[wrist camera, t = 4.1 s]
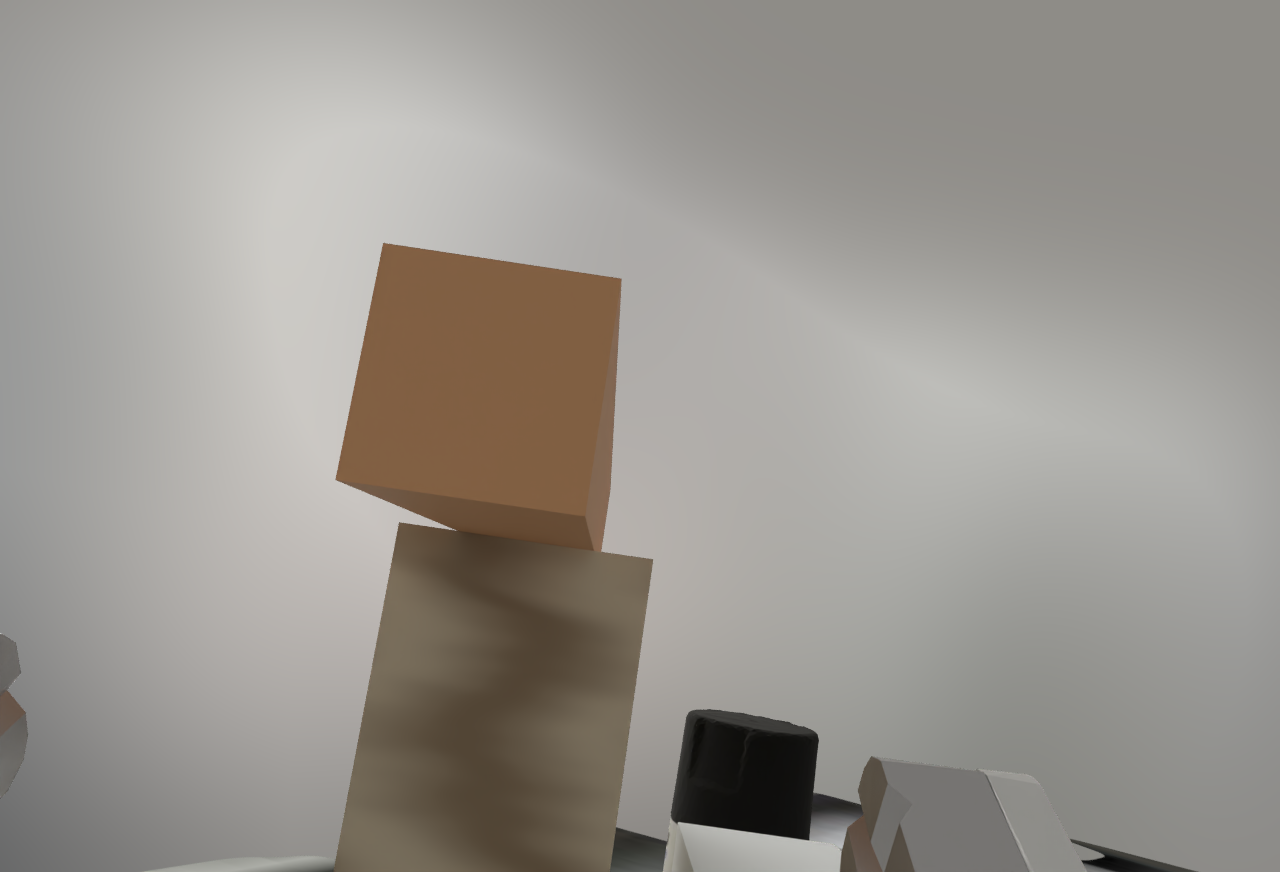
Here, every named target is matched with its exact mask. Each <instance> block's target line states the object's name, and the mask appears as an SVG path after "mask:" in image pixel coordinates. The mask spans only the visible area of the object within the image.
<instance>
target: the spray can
mask: <svg viewBox="0 0 1280 872" xmlns="http://www.w3.org/2000/svg"><path fill="white" fill-rule="evenodd" d="M818 742H819V739H818V735H817V734H816V733H815V732H814V731H813V730H811V729H808V728H806V727H801V726H797V725H793V724H791V723H790V722H785V721H779V720H773V719H770V718H765V717H760V716H752V715H748V714H744V713H734V712H727V711H721V710H711V709H708V710H693V711H690V712H689V713H688V715H687V717H686V723H685V729H684V735H683V742H682V749H681V756H680V761H679V767H678V774H677V780H676V786H675V792H674V798H673V804H672V811H671V820H670V826H669V832H668V841H667V847H666V854H665V862H664V869H663V872H672V865H673V857H674V849H675V841H676V833H677V826H678V822H681V823H688V824H695V825H702V826H709V827H716V828H723V829H730V830H737V831H745V832H752V833H759V834H766V835H773V836H780V837H787V838H794V839H801V840H808V841H809V834H810V824H811V812H812V801H813V789H814V780H815V769H816V759H817V750H818Z"/></svg>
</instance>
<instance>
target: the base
mask: <svg viewBox="0 0 1280 872" xmlns="http://www.w3.org/2000/svg"><path fill="white" fill-rule="evenodd" d="M841 854H842V852H841V851H840V850H839V849H838V848H837V847H836V846H835V844H829V843H822V842H815V841H808V840H801V839H794V838H787V837H780V836H773V835H766V834H759V833H752V832H745V831H737V830H730V829H723V828H716V827H709V826H702V825H695V824H688V823H681V822H678V826H677V833H676V841H675V849H674V857H673V865H672V872H840V862H841Z"/></svg>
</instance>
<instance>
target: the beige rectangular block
mask: <svg viewBox="0 0 1280 872" xmlns="http://www.w3.org/2000/svg"><path fill="white" fill-rule="evenodd" d="M652 564H653V559H646V558H640V557H633V556H625V555H619V554H611V553H605V552H598V551H591V550H585V549H578V548H571V547H564V546H557V545H550V544H544V543H537V542H530V541H523V540H516V539H509V538H502V537H496V536H489V535H482V534H475V533H468V532H461V531H454V530H448V529H441V528H434V527H427V526H420V525H413V524H406V523H400V522H399V526H398V531H397V537H396V542H395V548H394V553H393V558H392V563H391V568H390V574H389V580H388V584H387V590H386V595H385V600H384V606H383V611H382V617H381V622H380V627H379V632H378V638H377V643H376V648H375V654H374V659H373V664H372V670H371V675H370V680H369V686H368V691H367V696H366V701H365V707H364V712H363V717H362V723H361V728H360V734H359V739H358V745H357V749H356V755H355V760H354V766H353V771H352V776H351V782H350V787H349V792H348V797H347V803H346V808H345V813H344V819H343V824H342V829H341V835H340V840H339V845H338V850H337V856H336V861H335V866H334V872H610V865H611V858H612V851H613V844H614V837H615V829H616V821H617V815H618V808H619V801H620V793H621V786H622V779H623V772H624V765H625V757H626V751H627V743H628V736H629V728H630V722H631V715H632V708H633V700H634V693H635V686H636V678H637V671H638V664H639V658H640V650H641V643H642V635H643V628H644V621H645V614H646V607H647V600H648V593H649V586H650V579H651V572H652Z"/></svg>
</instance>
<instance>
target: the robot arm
mask: <svg viewBox="0 0 1280 872" xmlns="http://www.w3.org/2000/svg"><path fill="white" fill-rule="evenodd" d="M20 674H21V670H20V664H19V658H18V652H17V646H16V643H15V642H14V641H12V640H11V639H9V638H8V637H6V636H5V635H3V634H1V633H0V799H1V797H2V796H3V795H4V794H5V793H6V792H7V791H8V789H9V787H10V786H11V784H12V782H13V780H14V778H15V776H16V774H17V772H18V770H19V768H20V766H21V764H22V762H23V760H24V754H25V748H26V743H27V737H28V732H27V721H26V713H25V711H24V710H23V709H22V708H21V707H20V705H19V704H18V703H17V702H16V700H15V699H14V698H13V697H12V696H11V694H10V693H9V692H8V691H7V690H8V689H9V687H10V686H11V685H12V684H13V682H14V681H15V680H16V679H17V678H18V676H19V675H20ZM858 793H859V797H860V801H861V805H862V809H863V813H864V815H863V816H862V817H861V818H859V819H858V820H857V821H855V822H854V823H853V824H852V825H850V826H849V827H848V828H847V832H846V837H845V841H844V845H843V849H842V854H841V862H840V872H1087V871H1086V869H1085V867H1084V865H1083V863H1082V861H1081V859H1080V858H1079V856H1078V854H1077V852H1076V850H1075V848H1074V846H1073V845H1072V843H1071V841H1070V839H1069V837H1068V835H1067V833H1066V831H1065V830H1064V828H1063V826H1062V824H1061V822H1060V820H1059V818H1058V817H1057V815H1056V813H1055V811H1054V809H1053V807H1052V805H1051V803H1050V801H1049V800H1048V798H1047V796H1046V794H1045V792H1044V790H1043V788H1042V786H1041V785H1040V783H1039V782H1038V781H1037V780H1035V779H1034V778H1033V777H1032V776H1030V775H1027V774H1019V773H1009V772H1001V771H992V770H983V769H976V770H968V769H961V768H953V767H946V766H939V765H931V764H924V763H916V762H909V761H901V760H894V759H887V758H879V757H871V758H870V760H869V761H868V763H867V765H866V766H865V768H864V771H863V774H862V778H861V781H860V785H859V788H858Z"/></svg>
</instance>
